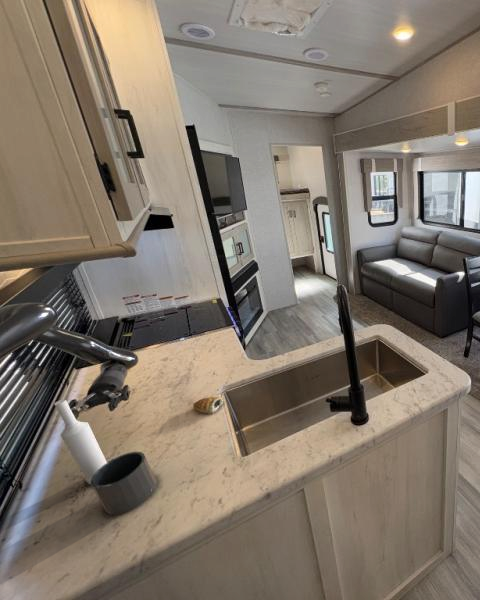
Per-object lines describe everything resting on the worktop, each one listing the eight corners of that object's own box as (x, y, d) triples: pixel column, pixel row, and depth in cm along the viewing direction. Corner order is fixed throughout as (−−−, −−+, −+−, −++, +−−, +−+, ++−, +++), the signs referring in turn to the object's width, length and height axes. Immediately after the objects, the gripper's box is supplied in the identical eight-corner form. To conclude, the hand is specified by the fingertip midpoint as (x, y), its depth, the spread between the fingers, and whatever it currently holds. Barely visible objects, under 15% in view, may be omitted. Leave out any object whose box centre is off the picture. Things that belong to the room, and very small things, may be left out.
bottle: (87, 476, 84) (46, 402, 76) (112, 465, 87) (75, 392, 79) (87, 489, 81) (43, 412, 72) (112, 476, 84) (74, 401, 75)
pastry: (189, 413, 107) (185, 404, 105) (203, 400, 113) (200, 392, 112) (213, 414, 105) (210, 405, 104) (226, 401, 112) (223, 393, 110)
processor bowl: (99, 523, 72) (83, 495, 69) (111, 489, 80) (98, 463, 77) (153, 500, 76) (140, 473, 73) (159, 470, 85) (148, 445, 82)
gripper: (73, 383, 96) (51, 413, 83) (130, 369, 103) (118, 394, 89) (83, 403, 99) (63, 435, 85) (138, 387, 105) (127, 415, 92)
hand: (91, 414), depth 87 cm, fingers open, 8 cm apart
